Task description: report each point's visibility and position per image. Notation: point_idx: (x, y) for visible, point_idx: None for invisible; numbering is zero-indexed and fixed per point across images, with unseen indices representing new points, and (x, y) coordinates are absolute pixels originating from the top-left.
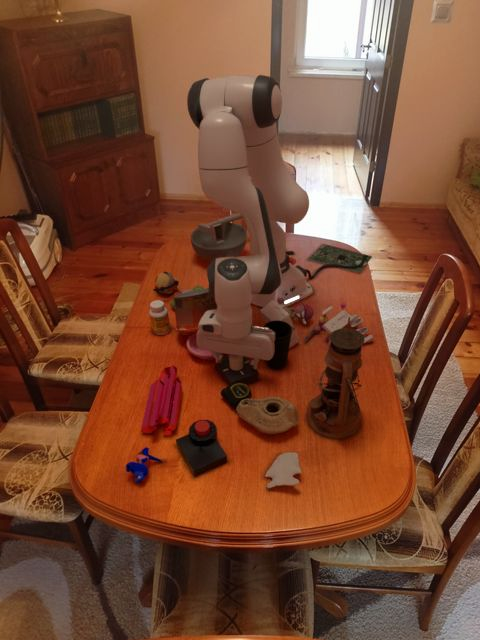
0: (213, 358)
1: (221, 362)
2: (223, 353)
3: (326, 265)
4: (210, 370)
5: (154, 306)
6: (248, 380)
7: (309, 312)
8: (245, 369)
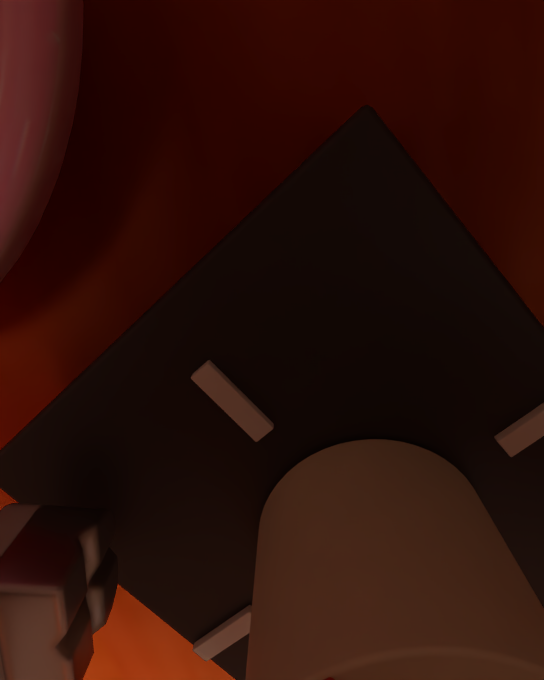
0: None
1: (110, 588)
2: (37, 221)
3: None
4: (16, 427)
5: None
6: None
7: None
8: (528, 576)
